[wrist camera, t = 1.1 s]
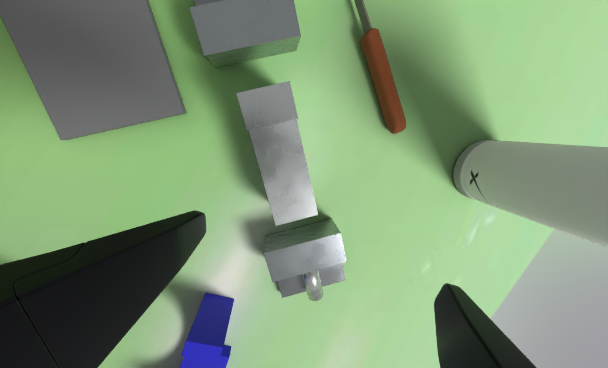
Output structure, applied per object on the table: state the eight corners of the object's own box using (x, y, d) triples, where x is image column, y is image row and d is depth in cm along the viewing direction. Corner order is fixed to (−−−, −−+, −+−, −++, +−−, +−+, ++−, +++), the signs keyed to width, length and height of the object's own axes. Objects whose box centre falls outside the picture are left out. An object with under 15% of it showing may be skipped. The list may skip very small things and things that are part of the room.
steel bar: (275, 205, 24) (275, 232, 18) (246, 102, 21) (236, 93, 15) (308, 196, 24) (321, 220, 18) (284, 93, 21) (289, 81, 15)
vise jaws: (282, 292, 26) (283, 317, 23) (187, -30, 18) (167, -66, 15) (343, 275, 26) (353, 297, 23) (276, -47, 19) (276, -85, 15)
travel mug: (438, 184, 25) (975, 374, 6) (475, 128, 24) (1261, 137, 5) (480, 209, 27) (1027, 429, 7) (516, 157, 26) (1258, 251, 6)
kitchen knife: (399, 128, 23) (410, 129, 22) (386, 134, 23) (397, 135, 22) (342, -54, 19) (350, -74, 17) (327, -47, 19) (333, -67, 17)
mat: (67, 139, 20) (61, 140, 19) (-14, -28, 17) (-24, -33, 16) (186, 113, 21) (183, 112, 20) (130, -53, 18) (125, -59, 17)
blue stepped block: (216, 385, 28) (201, 453, 22) (177, 379, 27) (150, 448, 21) (247, 300, 26) (240, 351, 20) (206, 291, 25) (186, 341, 19)
